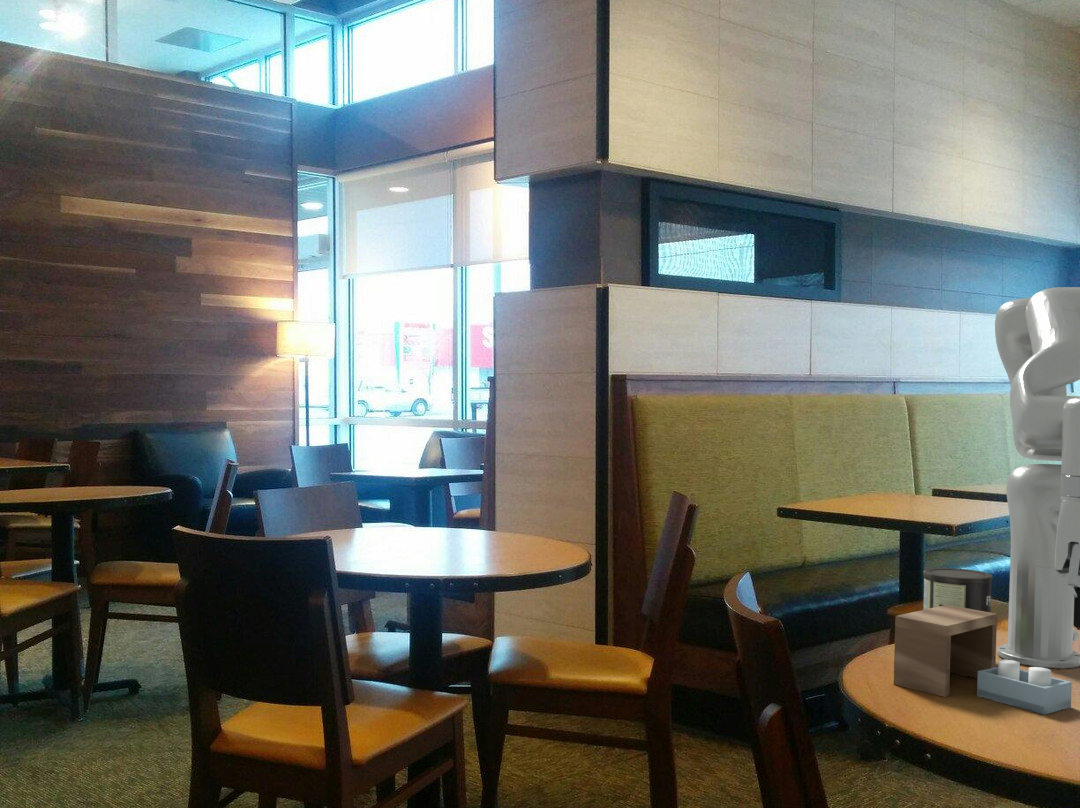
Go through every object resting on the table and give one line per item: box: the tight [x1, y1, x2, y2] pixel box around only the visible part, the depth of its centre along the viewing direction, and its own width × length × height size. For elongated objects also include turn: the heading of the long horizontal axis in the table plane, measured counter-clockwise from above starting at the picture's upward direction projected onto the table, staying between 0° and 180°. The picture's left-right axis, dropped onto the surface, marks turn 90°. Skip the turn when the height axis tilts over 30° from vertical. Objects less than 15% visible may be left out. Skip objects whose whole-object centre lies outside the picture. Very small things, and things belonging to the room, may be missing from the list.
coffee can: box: [923, 567, 993, 613], centre depth 172 cm, size 10×10×14 cm
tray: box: [976, 659, 1073, 715], centre depth 149 cm, size 6×10×5 cm, turn 34°
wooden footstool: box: [893, 605, 998, 698], centre depth 158 cm, size 14×8×10 cm, turn 130°
